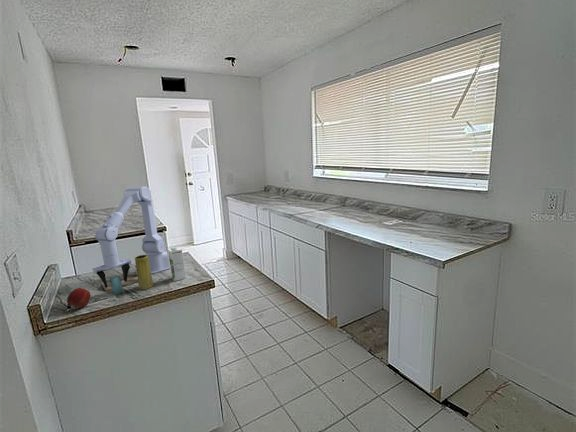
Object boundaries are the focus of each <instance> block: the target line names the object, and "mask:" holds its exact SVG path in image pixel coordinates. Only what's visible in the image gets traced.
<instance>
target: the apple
mask: <svg viewBox="0 0 576 432" xmlns="http://www.w3.org/2000/svg"><path fill="white" fill-rule="evenodd" d="M90 300H91V292H90V291H89V290H87V289H86V288H82V287H77V288H75V289H73V290H72V291H71V292H70V293H69V294H68V295H67V299H66V303H67V304H68V305H69V306H73V307H74V308H75V309H76V308H79V309H80V308H81V309H82V308H84V307H86V306H87V305H88V304H89V302H90Z"/></svg>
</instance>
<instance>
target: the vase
mask: <svg viewBox="0 0 576 432" xmlns="http://www.w3.org/2000/svg"><path fill="white" fill-rule="evenodd" d="M134 261H135V267H136V272H137V276H138V282H137V283H138V288H139V290H147V289H150V288H152V287H154V280H153V277H152V273H151V271H150V266H149V261H148V256H147V255H146V254H141V255H137V256H134Z"/></svg>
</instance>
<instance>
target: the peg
mask: <svg viewBox="0 0 576 432" xmlns="http://www.w3.org/2000/svg"><path fill="white" fill-rule="evenodd" d="M120 276H121V275H119V274H117V275H112V276H110V277H109V280H110V283H111V287H112V290H111V291H112V294H113V295H119V294H121V293H123V291H124V289H123V287H122V283H121V278H120Z"/></svg>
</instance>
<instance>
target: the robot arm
mask: <svg viewBox="0 0 576 432" xmlns="http://www.w3.org/2000/svg"><path fill="white" fill-rule="evenodd" d="M134 203H137V204H139V205H140V206H141V214H142V220H143V227H144V234H145V236H144V237H143V238H142V240H141V241H142V245H141V249H142V251H143V252H144V253H145V255H147V256H148V261H149V266H150V271H151V274H156V273H158V272H163V271H165V270H168V269H170V270H171V268H170V261H169V253H168V252H167V251H166V250H165V249H166V245H165V244H166V243H165V242H164V238H163V237H162V236H160V235H159V234H158V230H157V223H156V215H155V209H154V208H155V207H154V201H153V198H152V190H151V189H150V188H149V187H147V186H128V187H127V188H125V191H124V192H123V197H122V199H121V201H120V203H119V204H118V207H117V209H116V210H115V211H114V212H111V213H109V214H108V217H107V219H106V220H105V221H104V223H102V226H100V227H99V228H97V229H96V230H95V234H94V238H95V240H97V242H98V244H99V246H100V251H101V255H102V260H103V265H99V266H97V267H93V268H92V273H93V274H94V275H97V276H98V277H99V278H100V280H101V282H103V283H104V286H105V287H106V288H107V287H108V286H107V282H106V281H107V278H106V273H105V271H109V270H113V269H116V268H120V267H121V271H122V275H123V278H124V281H125V282H127V275H128V273H129V272H130V269H131V264H133V263H132V259H130V258H127V259H122V260H120V257H119V252H118V247H117V242H116V238H118V235H119V233H118V232H119V228H120V227H121V226H122V223H123V222H124V220H125V218H124V217H125V214H126V213H127V211H128V210H129V209H130V207H131V206H132V205H133V204H134Z"/></svg>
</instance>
